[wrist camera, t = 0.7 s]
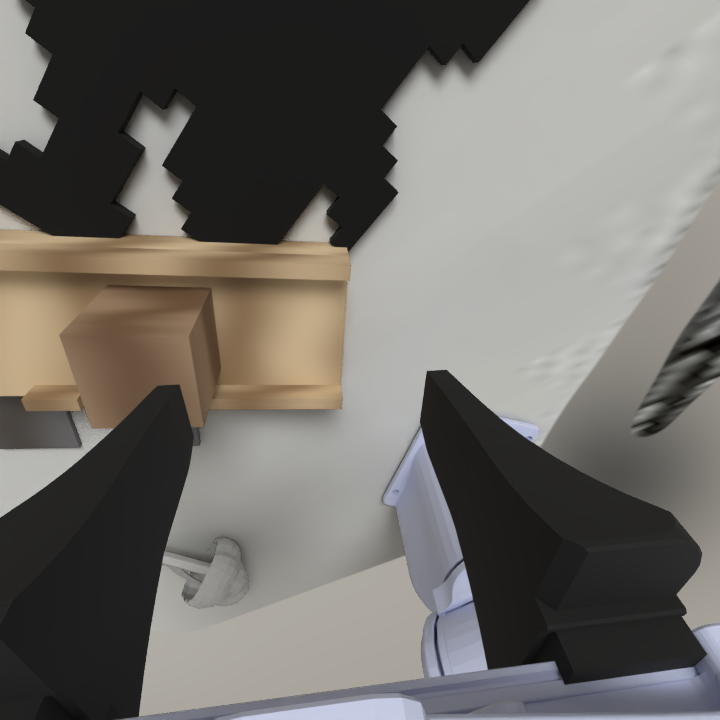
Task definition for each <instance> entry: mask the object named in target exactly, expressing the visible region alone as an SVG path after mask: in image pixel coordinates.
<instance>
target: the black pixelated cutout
mask: <svg viewBox="0 0 720 720" xmlns="http://www.w3.org/2000/svg"><path fill="white" fill-rule="evenodd" d="M26 1H27V2H29V3H30V4H31V5H32V6H34V7H35V9H34V12H33V14H32V17H31V19H30V22H29V24H28V27H27V29H26V32H25V33H26V34H27V35H28V36H30V37H31V38H32V39H33V40H35V41H36V42H37V43H39V44H40V45H41V46H43V47H44V48H45V49H46V50H48V51H49V52H50V53H52V54H53V55H52V57H51V60H50V62H49V64H48V67H47V69H46V71H45V74H44V76H43V78H42V81H41V83H40V85H39V88H38V90H37V92H36V95H35V97H34V99H33V100H34V101H36V102H37V103H38V104H40V105H41V106H43V107H44V108H45V109H47V110H48V111H50V112H51V113H52V114H54V115H55V116H57V117H58V118H59V119H58V122H57V124H56V126H55V128H54V130H53V132H52V135H51V137H50V139H49V141H48V143H47V145H46V148H45V150H44V152H42V151H40V150H39V149H37V148H36V147H34V146H33V145H31V144H30V143H28V142H27V141H25V140H21V141H17V142H15V144H14V146H13V148H12V150H11V153H10V155H9V154H7V153H6V152H4V151H3V150H1V149H0V205H2V206H3V207H5V208H7V209H8V210H10V211H12V212H14V213H15V214H17V215H19V216H20V217H22V218H24V219H25V220H27V221H29V222H30V223H32V224H34V225H35V226H37V227H39V228H40V229H42V230H44V231H45V232H47V233H49V234H50V235H52V236H66V237H92V238H117V239H119V238H120V237H121V236H123V235H124V234H125V232H126V230H127V229H128V227H129V225H130V224H131V222H132V220H133V218H134V217H135V215H136V214H134V213H133V212H131V211H130V210H128V209H127V208H125V207H124V206H122V205H121V204H119V203H118V202H116V199H117V197H118V195H119V193H120V192H121V190H122V188H123V186H124V185H125V183H126V181H127V179H128V177H129V176H130V174H131V172H132V170H133V168H134V167H135V165H136V163H137V161H138V160H139V158H140V156H141V154H142V152H143V151H144V149H145V147H144V146H143V145H141V144H140V143H139V142H137V141H136V140H135V139H133V138H132V137H131V136H129V135H128V134H127V133H125V132H124V129H125V127H126V125H127V123H128V122H129V120H130V118H131V116H132V114H133V112H134V110H135V108H136V106H137V105H138V103H139V101H140V99H141V97H142V95H143V94H144V95H145V96H147V97H148V98H149V99H150V100H152V101H153V102H154V103H155V104H157V105H158V106H159V107H160V108H162V109H166V108H168V106H169V104H170V102H171V101H172V99H173V97H174V95H175V94H176V92H177V90H178V91H179V92H180V93H181V94H182V95H184V96H185V97H186V98H187V99H188V100H190V101H191V102H192V103H193V104H194V105H196V106H197V107H196V108H195V110H194V112H193V113H192V115H191V117H190V119H189V120H188V122H187V124H186V125H185V127H184V129H183V131H182V132H181V134H180V136H179V137H178V139H177V141H176V142H175V144H174V146H173V148H172V149H171V151H170V153H169V154H168V156H167V158H166V159H165V161H164V163H163V165H162V166H163V167H165V168H166V169H167V170H169V171H170V172H171V173H173V174H174V175H175V176H177V177H178V178H179V179H181V180H182V183H181V184H180V186H179V188H178V189H177V191H176V192H175V194H174V196H173V197H172V199H173V200H175V201H176V202H177V203H179V204H180V205H182V206H183V207H184V208H186V209H187V210H189V211H190V212H191V214H190V216H189V217H188V219H187V220H186V222H185V223H184V225H183V227H182V228H181V229H182V230H183V231H185V232H186V233H187V234H189V235H190V236H192V237H193V238H195V239H196V240H198V241H199V242H218V243H243V244H269V245H278V243H279V242H280V241H281V239H282V238H283V237H284V235H285V234H286V233H287V232H288V230H289V229H290V228H291V226H292V225H293V224H294V222H295V221H296V220H297V218H298V217H299V216H300V215H301V213H302V212H303V211H304V209H305V208H306V207H307V205H308V204H309V203H310V201H311V200H312V199H313V198H314V196H315V195H316V194H317V192H318V191H319V190H320V188H321V187H322V186H323V184H324V185H326V186H327V187H328V188H329V189H330V190H331V191H332V192H334V193H335V194H336V195H337V196H338V197H337V198H336V200H335V201H334V202H333V203H332V205H331V206H330V207H329V209H328V210H327V215H328V216H329V217H331V218H332V219H333V220H334V221H336V222H337V223H338V224H339V225H340V227H339V228H338V229H337V230H336V232H335V233H334V234H333V235H332V236H331V238H330V243H331V244H332V245H333V246H335V247H345V248H347V250H348V251H349V250H350V249H351V248H352V247H353V246H354V244H355V243H356V242H357V241H358V240H359V238H360V237H361V236H362V235H363V234H364V233H365V231H366V230H367V229H368V228H369V227H370V225H371V224H372V223H373V222H374V221H375V220H376V218H377V217H378V216H379V215H380V214H381V213H382V211H383V210H384V209H385V208H386V207H387V205H388V204H389V203H390V202H391V201H392V200H393V198H394V197H395V196H396V195H397V194H398V191H397V190H396V189H395V188H394V187H393V186H392V185H391V184H390V183H389V182H388V181H387V180H386V179H384V177H385V176H386V175H387V173H388V172H389V171H390V170H391V168H392V167H393V166H394V165H395V164H396V162H397V161H398V160H397V159H396V158H395V157H394V156H392V155H391V154H390V153H389V152H388V151H387V150H386V149H385V148H384V147H383V146H382V145H383V144H384V142H385V141H386V140H387V139H388V137H389V136H390V135H391V133H392V132H393V131H394V130H395V128H396V127H397V126H396V125H395V124H394V123H393V122H392V121H391V120H390V119H389V118H388V116H387V115H386V114H385V113H384V112H383V111H382V110H381V109H382V107H383V106H384V105H385V103H386V102H387V101H388V99H389V98H390V97H391V95H392V94H393V93H394V92H395V90H396V89H397V88H398V86H399V85H400V84H401V82H402V81H403V80H404V78H405V77H406V76H407V75H408V73H409V72H410V71H411V69H412V68H413V67H414V65H415V64H416V63H417V61H418V60H419V59H420V58H421V56H422V55H423V54H424V52H425V51H426V50H427V49H428V50H429V51H430V53H431V54H432V55H433V56H434V57H435V59H436V60H437V61H438V62H439V63H440V64H441V65H446V64H447V63H448V62H449V60H450V59H451V58H452V57H453V55H454V54H455V53H456V51H457V50H458V49H459V48H460V47H461V48H462V49H463V51H464V52H465V53H466V54H467V56H468V57H469V58H470V59H471V61H472V62H473V63H476V62H479V61H480V60H481V59H482V58H483V56H484V55H485V54H486V53H487V51H488V50H489V49H490V48H491V47H492V45H493V44H494V43H495V42H496V40H497V39H498V38H499V37H500V36H501V34H502V33H503V32H504V31H505V30H506V28H507V27H508V26H509V25H510V23H511V22H512V21H513V20H514V19H515V17H516V16H517V15H518V14H519V12H520V11H521V10H522V9H523V8H524V6H525V5H526V4H527V3H528V1H529V0H26Z"/></svg>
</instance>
